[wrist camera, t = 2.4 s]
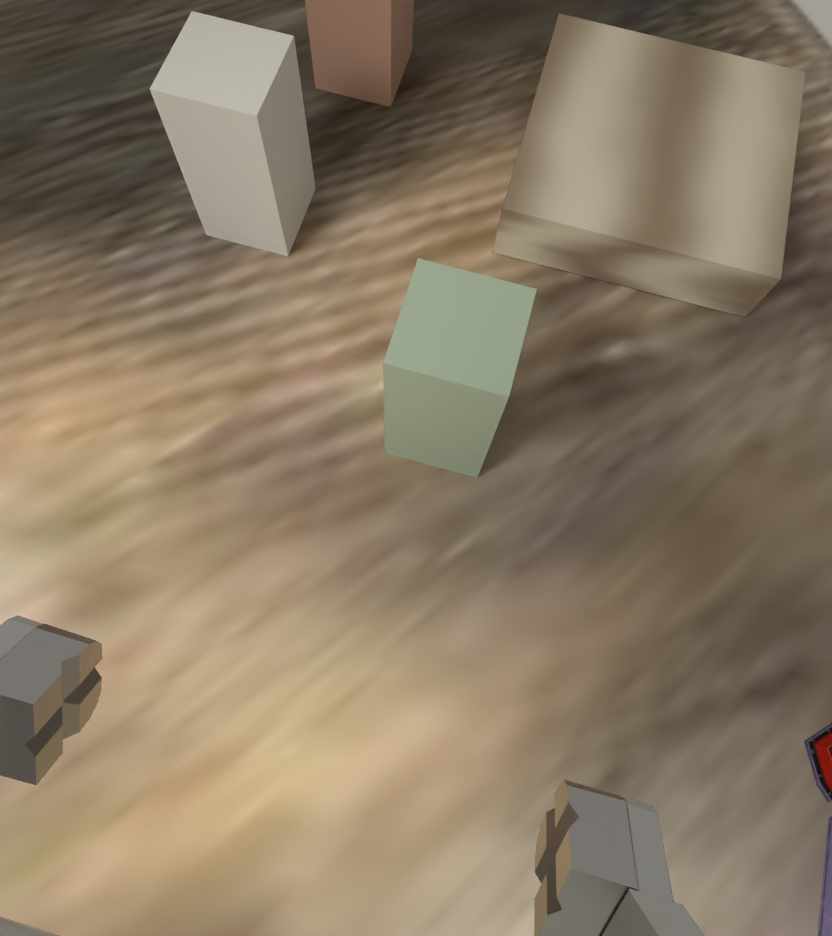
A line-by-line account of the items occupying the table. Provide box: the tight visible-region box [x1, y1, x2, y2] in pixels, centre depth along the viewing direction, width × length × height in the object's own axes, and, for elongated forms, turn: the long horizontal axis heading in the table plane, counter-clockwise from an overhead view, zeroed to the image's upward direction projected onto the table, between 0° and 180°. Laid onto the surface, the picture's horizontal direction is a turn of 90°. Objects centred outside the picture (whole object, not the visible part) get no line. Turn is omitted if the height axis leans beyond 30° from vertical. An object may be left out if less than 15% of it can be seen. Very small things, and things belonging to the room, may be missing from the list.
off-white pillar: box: [150, 11, 316, 256], centre depth 29 cm, size 4×4×8 cm
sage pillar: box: [383, 258, 537, 478], centre depth 25 cm, size 4×4×8 cm
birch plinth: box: [493, 14, 806, 317], centre depth 32 cm, size 12×12×3 cm
